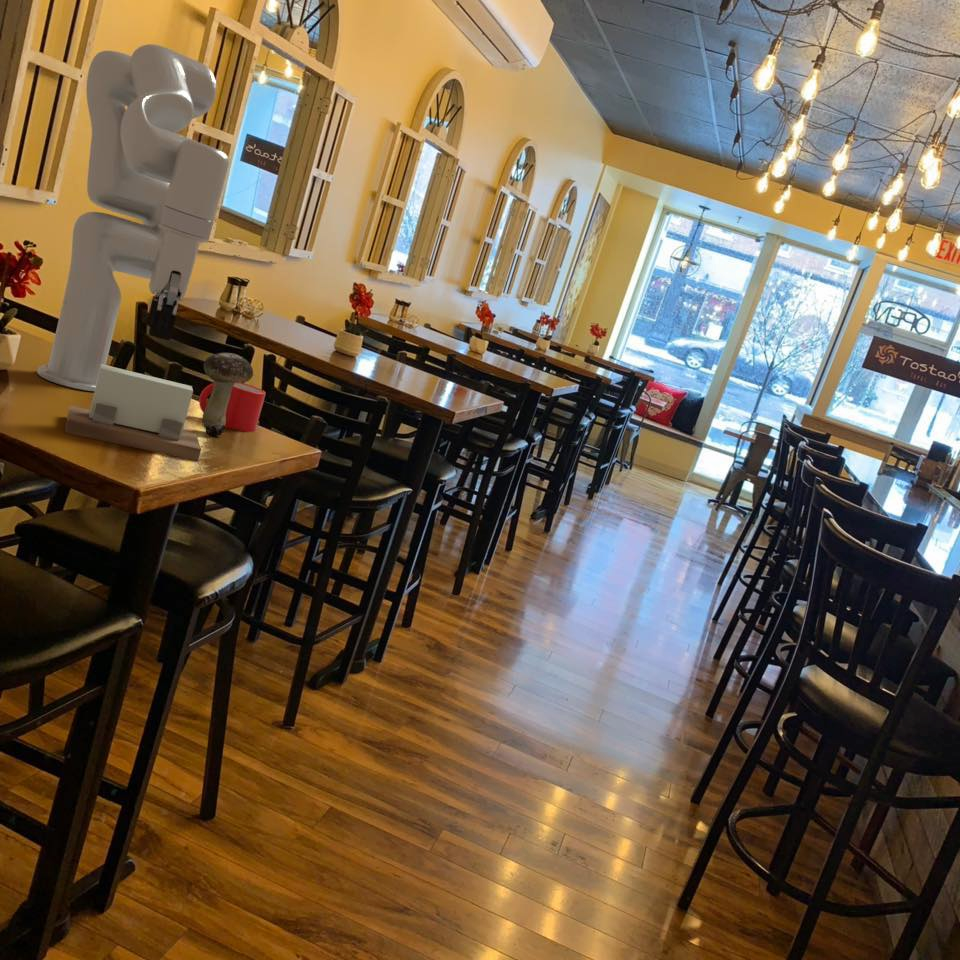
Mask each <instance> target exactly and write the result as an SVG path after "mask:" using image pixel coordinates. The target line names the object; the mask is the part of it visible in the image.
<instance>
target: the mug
mask: <svg viewBox="0 0 960 960" xmlns="http://www.w3.org/2000/svg"><path fill="white" fill-rule="evenodd" d="M213 388H214V383H213V382H212V383H210V384H209V385H207V386H206V387H204V388H203V390H202V391H201V393H200V395H199V398H198V399H199V400H198V404H199V408H200V410H201V412H202V414H203V413H204V411H205V408H206V406H207V403H208V399H209V398H208V397H210V396H209V395H211V394H212V391H213ZM265 397H266V391H265V390H262V388H260V387H256V386H253V385H251V384H247V383H245V382H240V383H235V384H234V386H233V387H232V391H231V394H230V398H229V401H228V405H227V408H226V413H225V416H226V424H225V425H224V427H226V426H227V427H226V428H228V427H230V428H229V429H231V428H234V429H233V430H235V429H238V430H237V431H239V430H241V431H240V432H247V433H255V432H256V430H257V427H258V424H259V419H260V416H261V411H262V408H263V405H264V402H265Z"/></svg>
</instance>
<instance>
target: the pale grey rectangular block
mask: <svg viewBox="0 0 960 960" xmlns="http://www.w3.org/2000/svg"><path fill="white" fill-rule="evenodd" d="M93 392H94V393H93V397H92V401H91V404H90V409H89V410H90V414H89V418H93V416H94V412H95V408H96V404H97V403H99V404H104V405H108V406H113V407H117V411H116V415H115V419H114V423H116V424H121V425H125V426H130V427H134V428H139V429H143V430H148V431H152V432H157V433H159V432H160V428H161V425H162V421H163V418H165V419H170V420H174V421H178V422H182V423H183V424H182V428H181V432H180V435H179V438H181V436H182V432H183V431H184V427H185V424H186V421H187V420H186V419H187V416H188V412H189V408H190V405H191V401H192V396H193V393H194V390H193V385H188V384H185V383H184V384H183V383H180V382H176V381H171V380H167V379H163V378H159V377H155V376H152V375H146V374H144V373H140V372H139V373H138V372H135V371H130V370H127V369H124V368H123V369H122V368H119V367H114V366H110V365H107V364H106V365H103V364H101V367H100V371H99V375H98V380H97V384H96V388H95V391H93Z"/></svg>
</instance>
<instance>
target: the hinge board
mask: <svg viewBox="0 0 960 960" xmlns="http://www.w3.org/2000/svg"><path fill="white" fill-rule="evenodd" d="M116 411H117V407H113V406H108V405H104V404H99V403H97V404H96V408H95V412H94V416H93V418H89V414H90V409H88V408H83V407H81V406H80V407H79V406H75V405H69V408H68V412H67V416H66V417H67V418H66V422H65V426H64V427H65V429H64V433H65V434H69V435H74V436H78V437H79V436H80V437H82V438H83V437H84V438H89V439H94V440H97V441H102V442H107V443H112V444H116V445H121V446H126V447H130V448H135V449H140V450H145V451H149V452H150V451H151V452H154V453H160V454H163V455H169V456H173V457H176V458H177V457H178V458H183V459H187V460H192V461H197V462H198V461H199V459H200V455H201V452H202V451H201V450H202V447H201V443H200V441H199V439H198V436H197V433H195V432H192V431H186V430H183V432H182V436H181V438H179V435H180V432H181V428H182V424H183V423H182V422H178V421H174V420H170V419H165V418H163V421H162V425H161V428H160V432H159V433H157V432H152V431H148V430H143V429H139V428H134V427H130V426H125V425H121V424H116V423H114V419H115V415H116Z"/></svg>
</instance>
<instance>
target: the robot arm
mask: <svg viewBox="0 0 960 960" xmlns="http://www.w3.org/2000/svg"><path fill="white" fill-rule="evenodd" d="M88 68H89V69H88V73H87V79H86V104H87V108H88V113H89V114H88V115H89V118H90V125H91V140H90V150H89V161H88V170H87V171H88V172H87V184H86V187H87V188H86V192H87V195H88V198H89V200H90V201H91V202H92V203H93V204H94V205H96V206H97V207H99V208H102V209H104V210H107V211H111V212H114V213H117V214H120V215H123V216H126V217H130V218H133V219H137V220H140V221H141V222H142V223H143V224H142V223H139V222H136V221H135V222H134V221H133V220H130V219H126V218H123V217H120V216H117V215H113V214H110V213H105V212H102V211H101V212H100V211H89V212H85V213H82V214H81V215H80V216H79V217H78V218H77V219H76V220H75V223H74V226H73V230H72V242H71V258H70V266H69V272H68V277H67V282H66V285H65V286H66V287H65V290H64V295H63V300H62V304H61V309H60V313H59V318H58V321H57V325H56V326H57V327H56V331H55V335H54V339H53V343H52V348H51V352H50V357H49V361H48V364H46V365H40V366H38V368H37V372H36V373H37V375H39V377H41V378H43V379H44V380H47V381H49V382H52V383H54V384H58V385H60V386H64V387H67V388H72V389H76V390H81V391H88V392H95V388H96V384H97V380H98V375H99V371H100V367H101V364H103V365H107V361H108V357H109V353H110V349H111V344H112V340H113V336H114V332H115V329H116V328H115V327H116V324H117V318H118V315H119V312H120V307H121V303H122V292H121V290H120V287H119V285H118V283H117V280H116V278H115V276H114V272H118V273H123V274H127V275H131V276H135V277H139V278H143V279H146V280H149V284H148V288H149V291H150V293H151V294H152V295H153V296H154V299H152V301H151V306H150V309H149V313H148V317H147V320H146V322H147V325H149V326H150V327H149V329H148V334H149V336H151V337H154V338H157V339H161V340H165V341H170V340H171V338H172V335H173V330H174V327H175V323H176V320H177V311H178V307H179V306H178V305H179V303H180V302H182V301H184V299H185V295H186V292H187V290H188V287H189V283H190V281H191V280H190V279H191V276H192V273H193V269H194V266H195V263H196V258H197V254H198V252H199V247H200V243H201V242H202V243H209V240H210V237H211V233H212V230H213V225H214V221H215V218H216V214H217V212H218V211H217V210H218V208H219V204H220V199H221V196H222V191H223V188H224V184H225V181H226V178H227V177H226V176H227V173H228V169H229V166H230V160H229V156H228V154H226V152H224V151H222V150H221V149H217V148H215V147H213V146H209V145H207V144H204V143H201V142H199V141H197V140H194V139H191V138H189V137H187V136H184V135H182V134H178V133H179V132H182V131H183V130H184V129H186V128H187V127H188V126H189V125H190V124H191V122H192V120H193V119H196V118H199V117H202V116H203V115H205V114H207V113H208V112H209V111H210V110H211V108H212V107H213V105H214V104H215V103H214V102H215V100H216V96H217V90H218V89H217V88H218V87H217V81H216V76H215V75H214V73H213V71H212V70H211V69H210V67H209V66H207V65H206V64H205V63H202V62H200V61H197V60H195V59H193V58H191V57H188V56H186V55H183V54H181V53H179V52H177V51H175V50H173V49H171V48H168V47H165V46H162V45H159V44H153V43H152V44H143V45H141V46H139V47H137V48H136V49H135V50H134V51H133V53H132V54H131V55H130V54H126V53H123V52H120V51H114V50H102V51H100V52H98V53H96V55H95V56H94V57H93V58H92V60H91V62H90V65H89V67H88ZM126 107H127V108H126Z"/></svg>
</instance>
